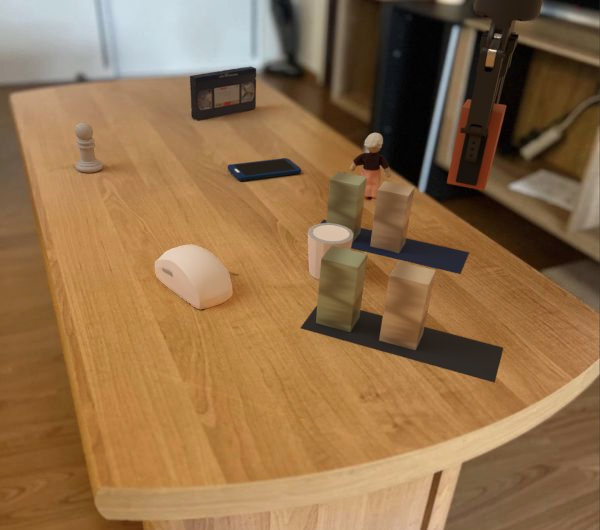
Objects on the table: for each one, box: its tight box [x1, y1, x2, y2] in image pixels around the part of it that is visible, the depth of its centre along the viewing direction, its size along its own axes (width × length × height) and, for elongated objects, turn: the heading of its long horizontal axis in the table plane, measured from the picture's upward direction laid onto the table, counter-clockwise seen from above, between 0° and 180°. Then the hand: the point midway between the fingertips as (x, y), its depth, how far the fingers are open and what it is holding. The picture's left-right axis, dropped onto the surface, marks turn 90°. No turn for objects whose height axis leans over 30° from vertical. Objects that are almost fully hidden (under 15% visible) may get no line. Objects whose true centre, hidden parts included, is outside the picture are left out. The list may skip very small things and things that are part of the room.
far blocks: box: [325, 171, 416, 253], centre depth 104 cm, size 13×4×10 cm, turn 68°
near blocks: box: [316, 246, 437, 350], centre depth 83 cm, size 14×4×10 cm, turn 68°
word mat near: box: [300, 305, 504, 384], centre depth 85 cm, size 26×8×1 cm, turn 68°
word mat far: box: [306, 219, 470, 275], centre depth 106 cm, size 26×8×1 cm, turn 68°
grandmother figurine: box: [349, 132, 392, 203], centre depth 117 cm, size 8×4×13 cm, turn 88°
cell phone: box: [227, 157, 302, 182], centre depth 129 cm, size 7×14×1 cm, turn 115°
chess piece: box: [74, 122, 104, 174], centre depth 123 cm, size 5×5×9 cm
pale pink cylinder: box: [307, 222, 354, 280], centre depth 96 cm, size 7×7×7 cm
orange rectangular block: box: [446, 98, 507, 191], centre depth 83 cm, size 5×4×10 cm
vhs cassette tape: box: [189, 66, 257, 121], centre depth 156 cm, size 18×3×10 cm, turn 130°
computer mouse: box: [154, 243, 233, 310], centre depth 91 cm, size 6×13×6 cm, turn 42°
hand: (469, 176), depth 85 cm, fingers closed on orange rectangular block, 4 cm apart
